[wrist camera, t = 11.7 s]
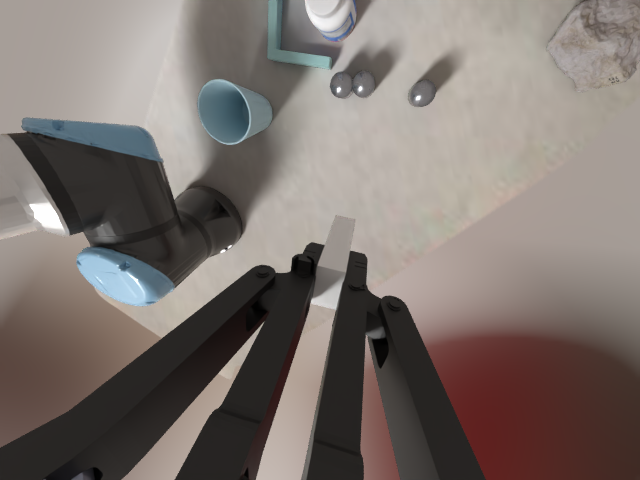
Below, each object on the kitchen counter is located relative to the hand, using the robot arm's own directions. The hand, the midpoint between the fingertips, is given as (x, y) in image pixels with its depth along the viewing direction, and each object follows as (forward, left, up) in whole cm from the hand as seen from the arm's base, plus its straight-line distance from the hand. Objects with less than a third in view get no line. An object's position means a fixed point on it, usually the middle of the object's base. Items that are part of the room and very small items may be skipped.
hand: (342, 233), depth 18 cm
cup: (-19, +5, -27) cm, 33 cm away
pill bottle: (-8, +18, -27) cm, 33 cm away
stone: (+23, +19, -27) cm, 40 cm away
